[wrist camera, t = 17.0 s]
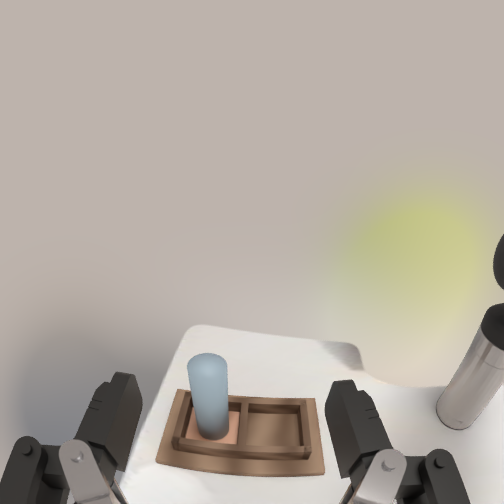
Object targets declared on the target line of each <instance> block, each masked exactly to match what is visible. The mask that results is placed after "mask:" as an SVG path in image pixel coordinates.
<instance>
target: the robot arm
mask: <svg viewBox="0 0 504 504" xmlns="http://www.w3.org/2000/svg"><path fill="white" fill-rule="evenodd" d="M493 270H494V276H495V279H496V281H497V283H498V284H499V286H500V287H501V288H502V289H504V234H503V236H502V237H501V239H500V241H499V243H498V245H497V248H496V251H495V255H494V261H493ZM503 382H504V303H502V304H497V305H494V306H491V307H490V308H489V309H488V310H487V311H486V313H485V315H484V318H483V320H482V323H481V325H480V327H479V329H478V331H477V333H476V335H475V337H474V339H473V342H472V344H471V346H470V348H469V350H468V351H467V353H466V355H465V357H464V359H463V361H462V363H461V364H460V366H459V368H458V370H457V371H456V373H455V375H454V377H453V378H452V380H451V381H450V383H449V385H448V386H447V388H446V389H445V391H444V392H443V394H442V395H441V397H440V398H439V400H438V402H437V407H436V409H437V414H438V416H439V418H440V419H441V421H442V422H443V423H444V424H446V425H447V426H449V427H451V428H453V429H465V428H467V427H469V426H470V425H471V424H472V423H473V422H474V421H475V419H476V418H477V417H478V416H479V415H480V413H481V412H482V411H483V410H484V408H485V407H486V406H487V404H488V403H489V402H490V400H491V399H492V398H493V396H494V395H495V393H496V392H497V390H498V389H499V388H500V386H501V385H502V383H503ZM88 407H89V408H88V409H87V411H86V413H85V415H84V418H83V420H82V422H81V424H80V427H79V429H78V432H77V434H76V436H75V438H74V439H73V440H69V441H67V442H65V443H64V444H63V445H62V446H52V445H41V444H40V443H39V442H38V441H37V440H36V439H35V438H33V437H30V436H24V437H21V438H20V439H18V440H17V441H16V443H15V445H14V447H13V450H12V452H11V455H10V458H9V460H8V462H7V465H6V468H5V471H4V473H3V477H2V479H1V482H0V504H67V499H68V495H69V491H70V490H71V492H72V495H73V497H74V500H75V503H74V504H129V503H128V501H127V500H126V498H125V496H124V494H123V493H122V491H121V489H120V487H119V485H118V483H117V482H116V480H115V478H114V475H115V472H116V470H119V471H123V472H125V468H126V465H127V461H128V457H129V453H130V449H131V445H132V442H133V438H134V435H135V431H136V428H137V424H138V421H139V418H140V414H141V411H142V396H141V393H140V390H139V387H138V384H137V381H136V378H135V375H133V374H128V373H122V372H116V373H115V374H114V376H113V378H112V380H111V382H110V383H108V382H104V383H103V384H101V385H100V386H99V387H98V388H97V389H96V391H95V393H94V395H93V398H92V401H91V402H90V404H89V406H88ZM325 417H326V421H327V425H328V428H329V432H330V436H331V440H332V444H333V448H334V452H335V456H336V460H337V464H338V468H339V472H340V476H341V479H342V478H347V477H350V479H351V484H350V485H349V487H348V489H347V491H346V492H345V494H344V496H343V498H342V499H341V501H340V503H339V504H392V503H393V501H394V499H396V500H397V504H470V501H469V498H468V495H467V492H466V489H465V487H464V484H463V481H462V479H461V476H460V473H459V471H458V468H457V466H456V463H455V461H454V459H453V456H452V455H451V454H450V453H449V452H448V451H446V450H444V449H436V450H433V451H431V452H430V453H429V454H428V455H427V456H404V455H403V454H402V453H401V452H399V451H397V450H394V449H393V447H392V445H391V443H390V441H389V438H388V436H387V433H386V431H385V428H384V426H383V423H382V421H381V419H380V418H379V414H378V411H377V410H376V407H375V404H374V402H373V400H372V398H371V397H370V396H369V395H368V394H367V393H366V392H365V391H364V390H361V391H357V388H356V386H355V383H354V381H353V380H342V381H334V382H333V384H332V387H331V389H330V392H329V395H328V398H327V400H326V403H325Z"/></svg>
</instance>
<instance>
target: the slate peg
mask: <svg viewBox="0 0 504 504" xmlns="http://www.w3.org/2000/svg"><path fill="white" fill-rule="evenodd" d="M187 369H188V376H189V382H190V388H191V394H192V400H193V406H194V411H195V417H196V422H197V427H198V431H199V434H200V435H201V436H202V437H204V438H205V439H208V440H220V439H222V438H224V437H225V436H226V435H227V434H228V432H229V411H228V379H227V363H226V361H225V360H224V359H223V358H222V357H221V356H219V355H216V354H212V353H203V354H199V355H196V356H194V357H193V358H191V359H190V360H189V362H188V365H187Z"/></svg>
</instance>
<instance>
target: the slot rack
mask: <svg viewBox="0 0 504 504" xmlns="http://www.w3.org/2000/svg"><path fill="white" fill-rule="evenodd" d="M228 411H229V432H228V434H227V435H226V436H225V437H224V438H222V439H220V440H208V439H205V438H204V437H202V436H201V435H200V434H199V431H198V427H197V422H196V417H195V411H194V406H193V400H192V394H191V391H189V390H182V389H177V392H176V395H175V398H174V401H173V404H172V407H171V411H170V414H169V417H168V420H167V423H166V427H165V430H164V433H163V437H162V440H161V443H160V446H159V450H158V453H157V456H156V462H157V463H160V464H164V465H169V466H174V467H179V468H184V469H190V470H196V471H203V472H211V473H219V474H229V475H241V476H261V477H296V476H315V475H324V473H325V467H324V459H323V452H322V444H321V437H320V429H319V422H318V416H317V409H316V402H315V398H263V397H246V396H233V395H228Z"/></svg>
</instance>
